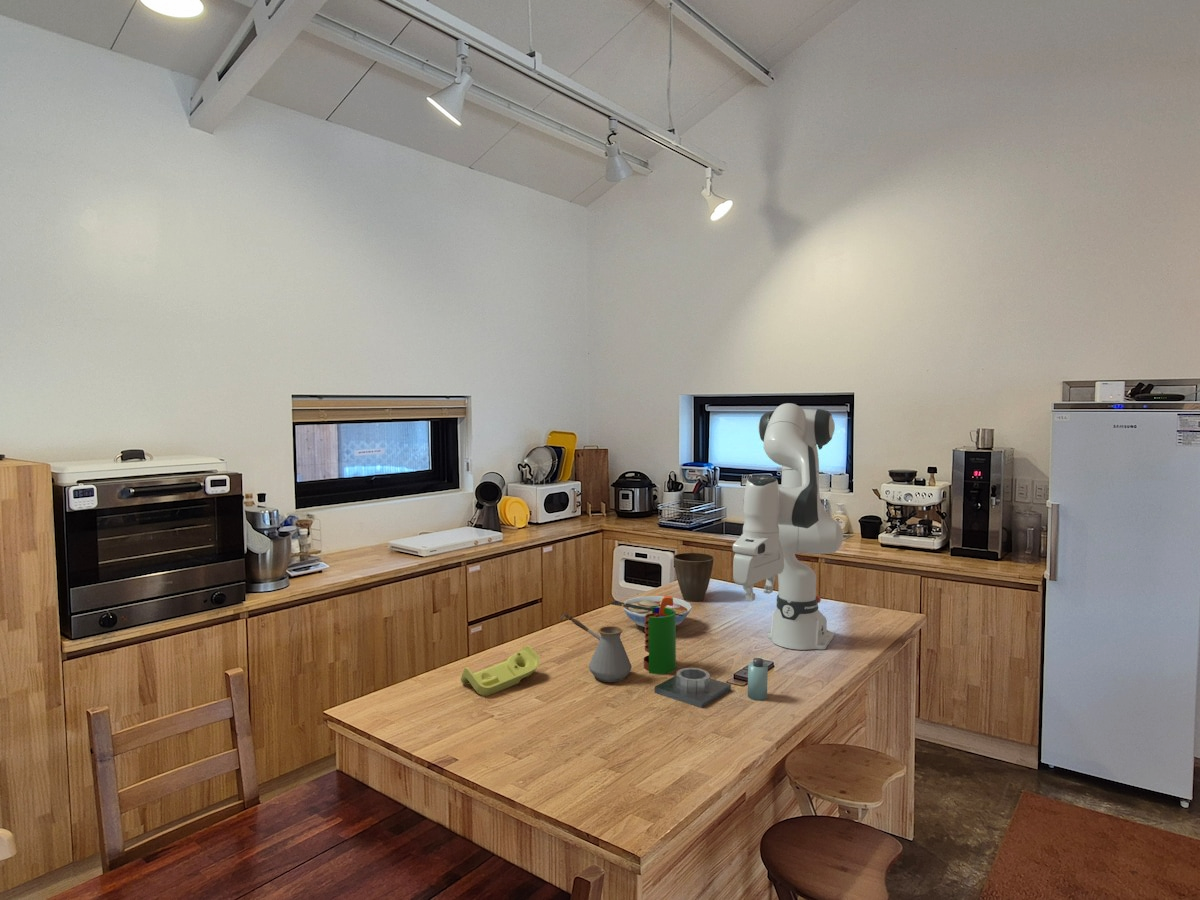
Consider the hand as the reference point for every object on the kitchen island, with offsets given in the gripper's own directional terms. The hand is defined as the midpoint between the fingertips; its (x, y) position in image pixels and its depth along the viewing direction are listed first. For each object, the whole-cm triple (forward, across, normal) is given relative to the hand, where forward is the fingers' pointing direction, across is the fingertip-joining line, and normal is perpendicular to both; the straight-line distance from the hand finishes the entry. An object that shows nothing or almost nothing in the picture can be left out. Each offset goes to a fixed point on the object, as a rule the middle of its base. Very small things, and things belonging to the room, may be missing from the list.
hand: (759, 596), depth 178 cm
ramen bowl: (+26, -28, -51) cm, 64 cm away
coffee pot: (+26, +15, -41) cm, 51 cm away
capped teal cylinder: (+26, 0, 0) cm, 26 cm away
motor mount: (+26, +8, -14) cm, 30 cm away
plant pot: (+25, -64, -60) cm, 92 cm away
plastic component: (+26, +36, -55) cm, 71 cm away
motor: (+26, 0, -30) cm, 40 cm away
